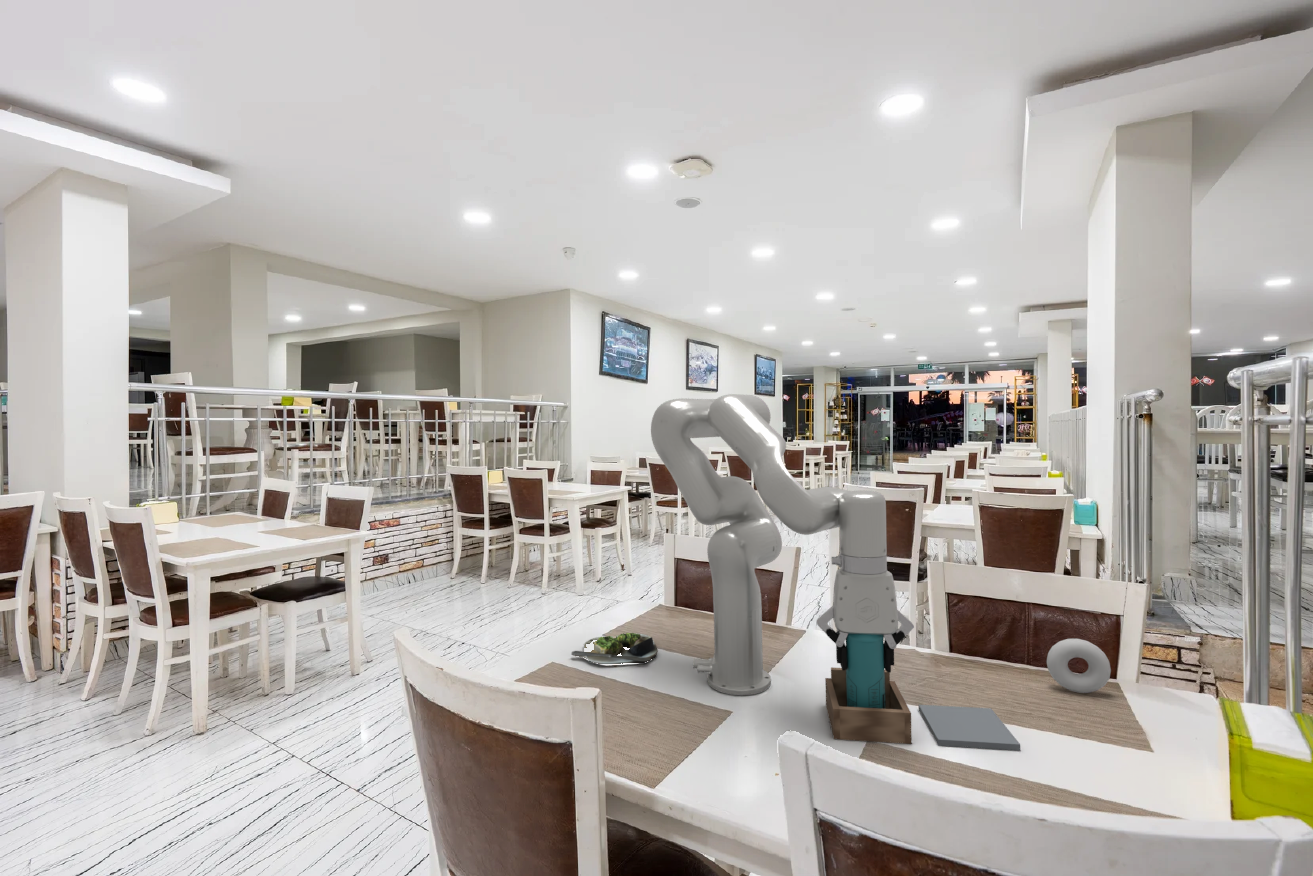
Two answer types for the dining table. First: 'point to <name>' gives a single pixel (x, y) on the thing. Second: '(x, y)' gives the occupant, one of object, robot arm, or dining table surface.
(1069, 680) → the donut
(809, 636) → the dining table surface
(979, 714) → the slate mat
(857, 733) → the brown wooden open box
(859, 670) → the beverage bottle
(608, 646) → the salad plate
